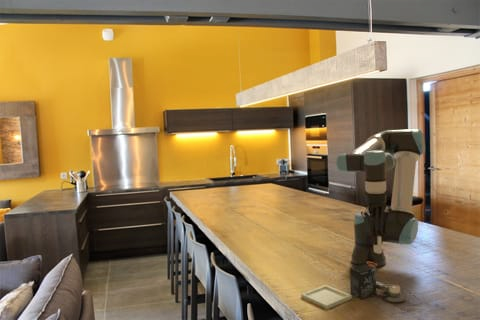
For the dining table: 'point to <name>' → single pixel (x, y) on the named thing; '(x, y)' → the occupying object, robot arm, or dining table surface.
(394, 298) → the crank base
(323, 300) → the tray
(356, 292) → the box
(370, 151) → the robot arm
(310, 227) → the dining table surface
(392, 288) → the crank
